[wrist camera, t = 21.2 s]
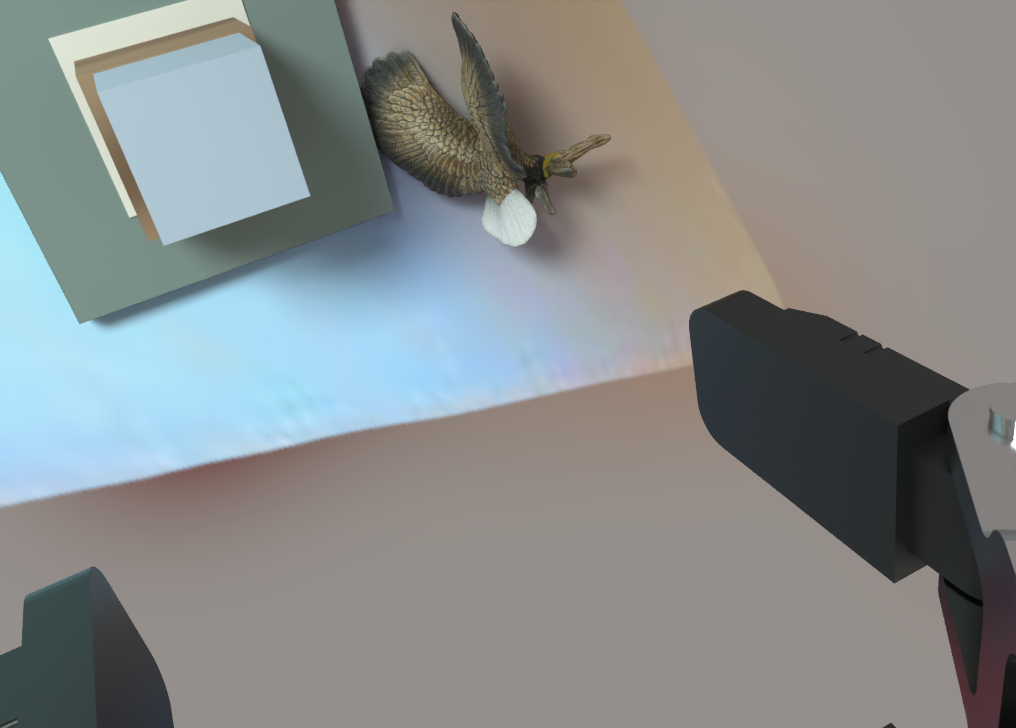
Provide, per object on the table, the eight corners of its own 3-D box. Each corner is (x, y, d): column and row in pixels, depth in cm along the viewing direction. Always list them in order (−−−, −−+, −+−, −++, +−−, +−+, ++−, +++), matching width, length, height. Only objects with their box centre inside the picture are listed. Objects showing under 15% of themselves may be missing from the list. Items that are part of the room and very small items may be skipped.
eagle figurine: (592, 75, 42) (455, -37, 36) (629, 190, 38) (484, 89, 32) (476, 168, 46) (335, 82, 40) (500, 281, 42) (349, 205, 36)
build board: (-104, -41, 31) (-110, -40, 30) (287, -136, 34) (294, -138, 33) (79, 313, 38) (79, 325, 37) (387, 203, 42) (395, 211, 41)
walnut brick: (73, 61, 33) (75, 76, 30) (233, 17, 35) (251, 27, 31) (140, 212, 36) (148, 241, 33) (284, 165, 38) (305, 189, 34)
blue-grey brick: (92, 73, 30) (97, 92, 27) (239, 32, 31) (260, 45, 28) (153, 213, 33) (163, 245, 29) (285, 169, 34) (310, 196, 31)
